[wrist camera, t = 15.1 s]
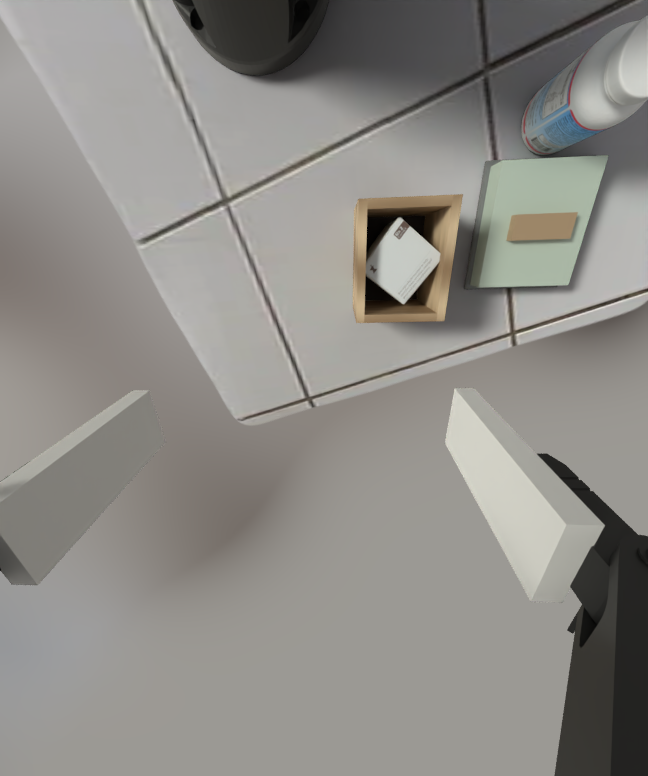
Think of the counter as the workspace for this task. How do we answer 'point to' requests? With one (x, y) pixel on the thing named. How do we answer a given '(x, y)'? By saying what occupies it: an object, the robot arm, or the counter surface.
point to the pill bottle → (590, 91)
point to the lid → (535, 220)
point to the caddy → (437, 232)
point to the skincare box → (400, 260)
